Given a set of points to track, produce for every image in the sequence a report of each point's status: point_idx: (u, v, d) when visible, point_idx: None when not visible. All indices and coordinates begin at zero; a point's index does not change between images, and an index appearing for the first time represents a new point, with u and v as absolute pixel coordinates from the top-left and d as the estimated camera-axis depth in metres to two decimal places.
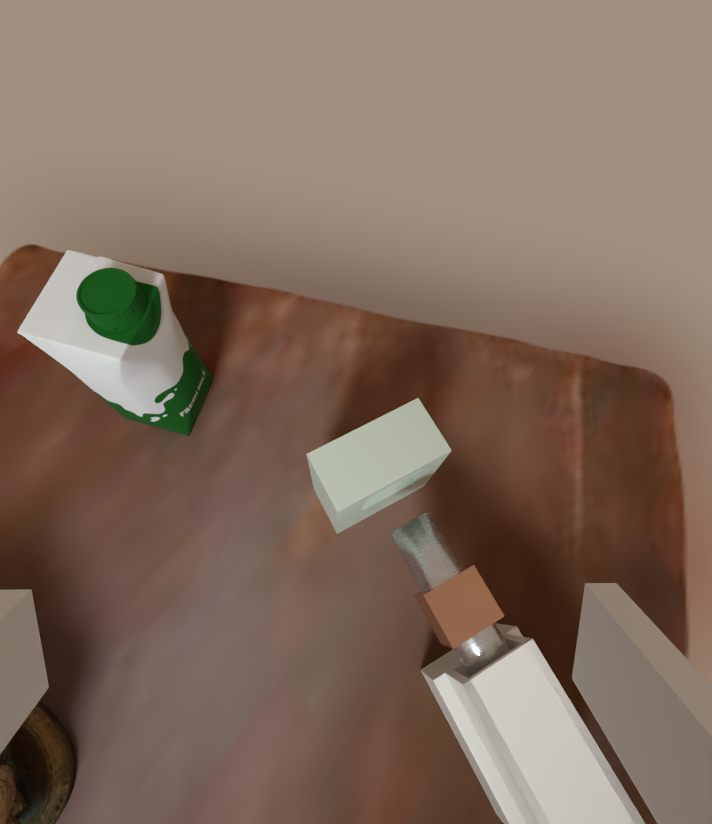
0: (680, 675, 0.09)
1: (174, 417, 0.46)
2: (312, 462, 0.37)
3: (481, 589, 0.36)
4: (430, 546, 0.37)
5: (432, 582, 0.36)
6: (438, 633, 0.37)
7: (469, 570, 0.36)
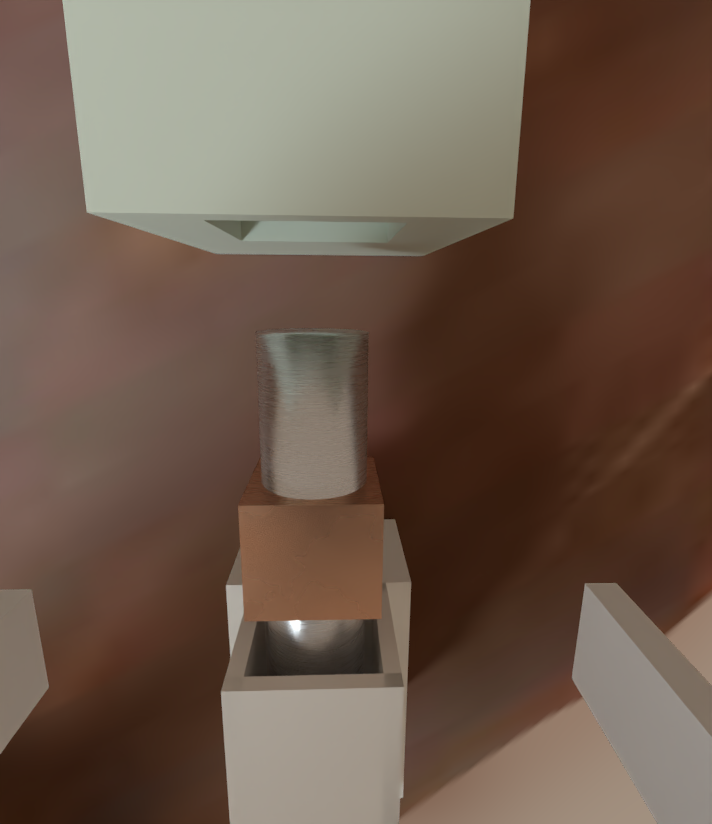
0: (680, 675, 0.09)
1: None
2: (67, 0, 0.10)
3: (368, 555, 0.15)
4: (315, 417, 0.15)
5: (279, 484, 0.15)
6: None
7: (367, 509, 0.15)
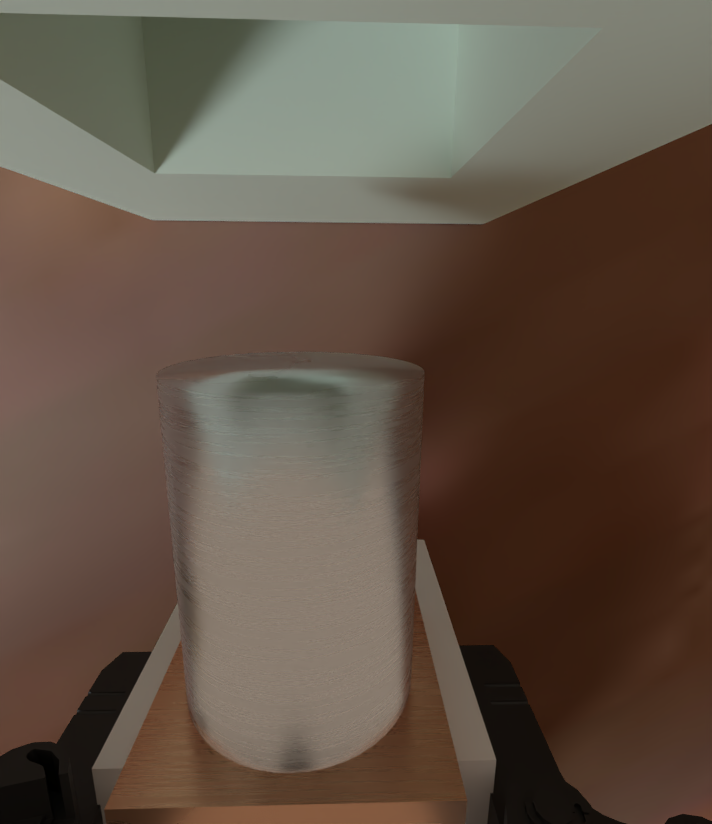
0: (427, 604, 0.11)
1: None
2: None
3: None
4: (296, 594, 0.06)
5: (215, 728, 0.07)
6: None
7: (425, 811, 0.06)
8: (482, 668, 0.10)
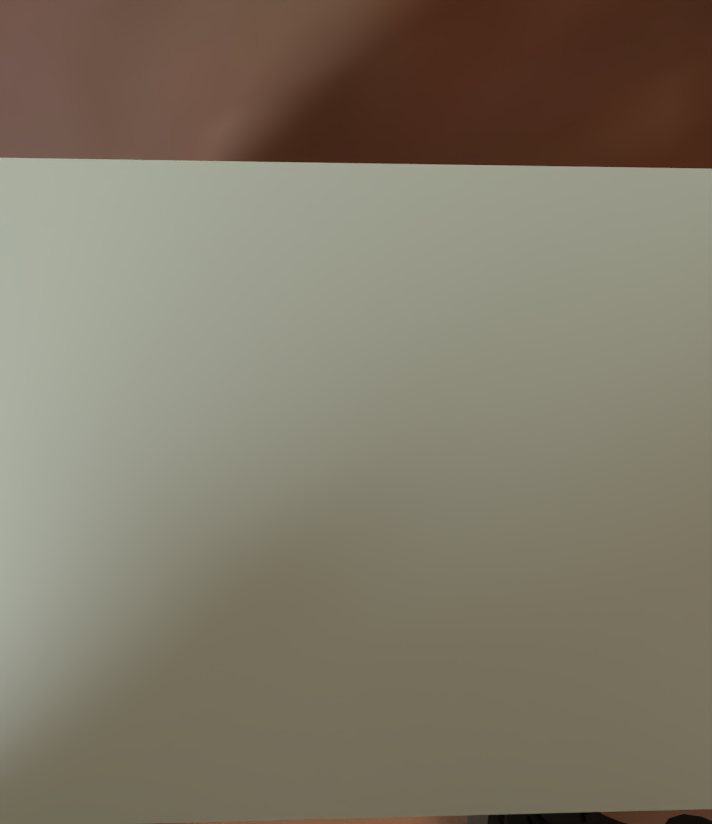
0: None
1: None
2: None
3: None
4: None
5: None
6: None
7: (425, 822, 0.06)
8: None
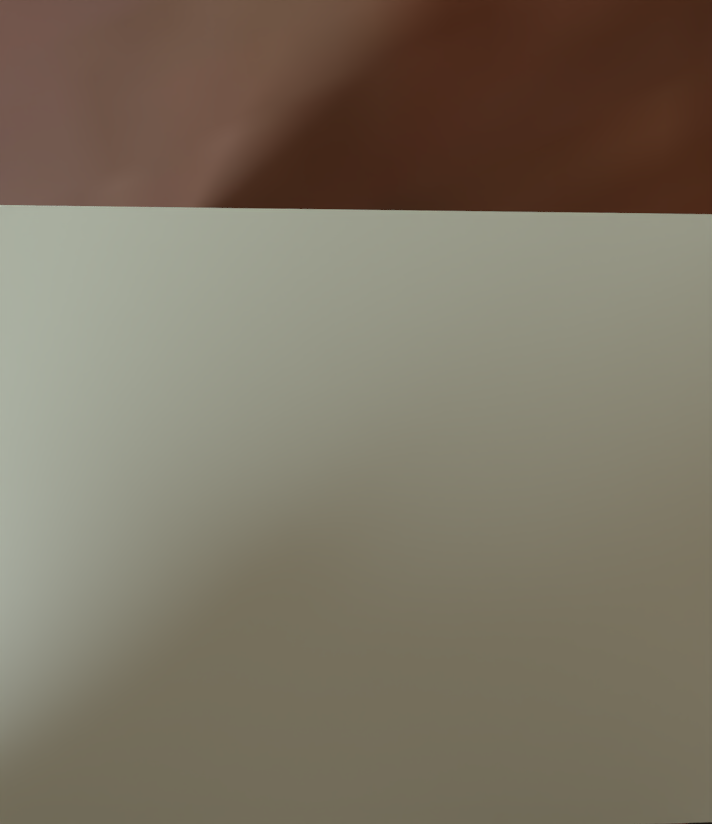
0: None
1: None
2: None
3: None
4: None
5: None
6: None
7: None
8: None
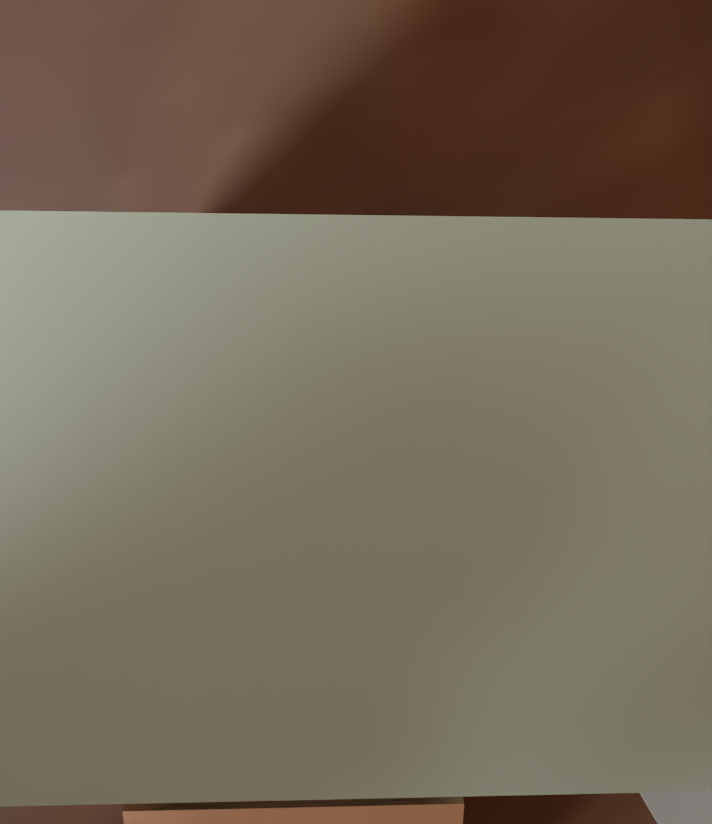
0: None
1: None
2: None
3: None
4: None
5: None
6: None
7: (424, 813, 0.06)
8: None
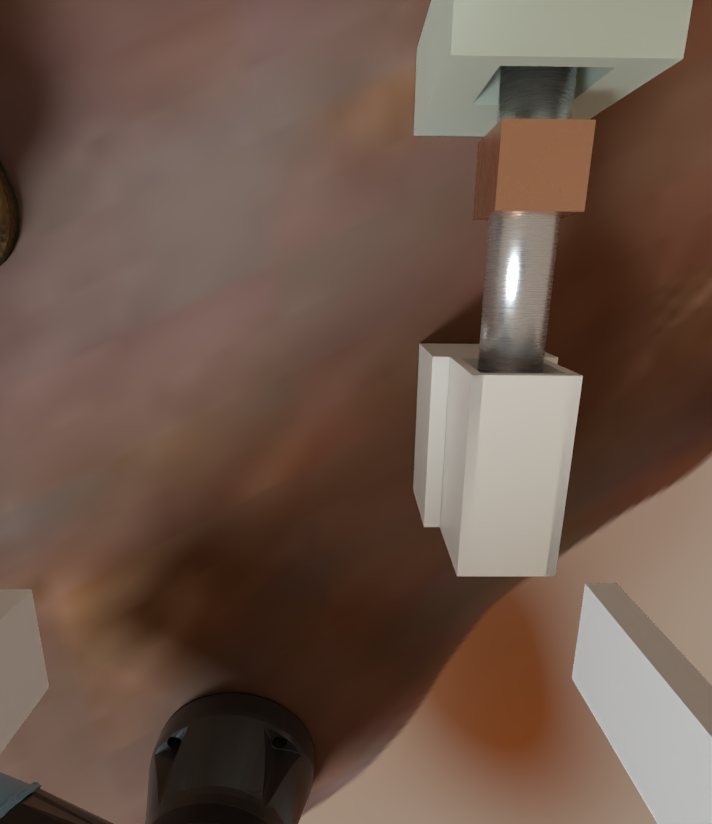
0: (680, 675, 0.09)
1: None
2: None
3: (581, 159, 0.23)
4: None
5: (522, 114, 0.23)
6: (481, 198, 0.26)
7: (584, 123, 0.23)
8: None
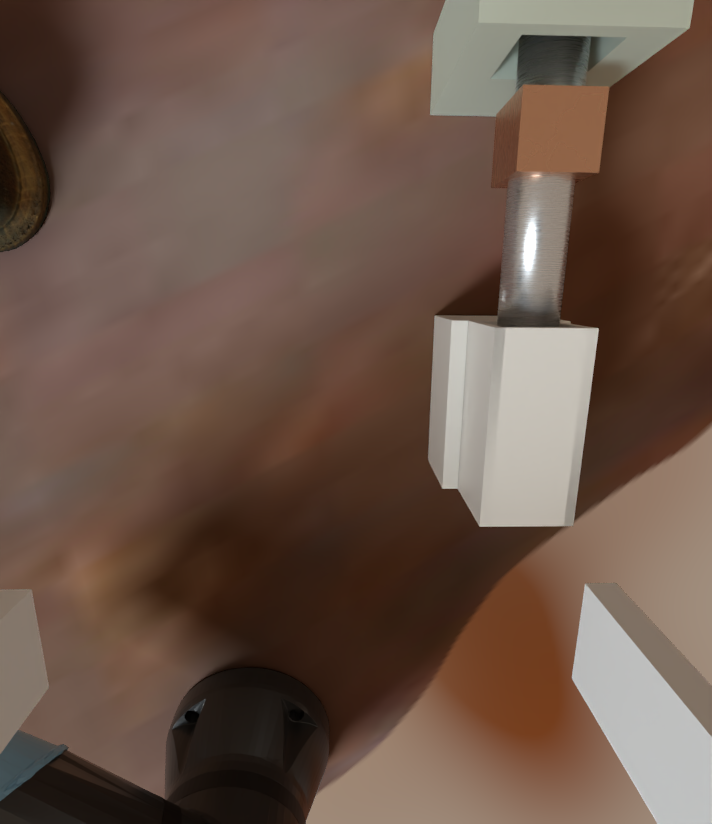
0: (680, 675, 0.09)
1: None
2: None
3: (595, 123, 0.25)
4: None
5: (541, 82, 0.25)
6: (501, 164, 0.28)
7: (598, 90, 0.25)
8: None
